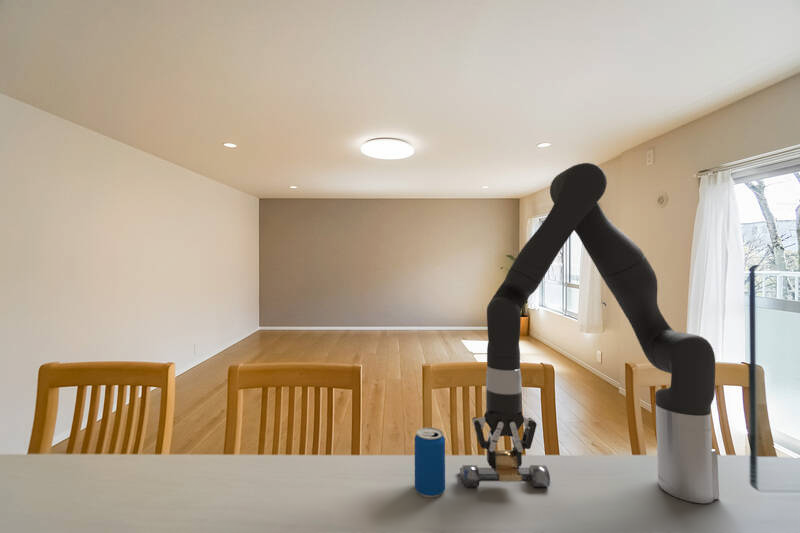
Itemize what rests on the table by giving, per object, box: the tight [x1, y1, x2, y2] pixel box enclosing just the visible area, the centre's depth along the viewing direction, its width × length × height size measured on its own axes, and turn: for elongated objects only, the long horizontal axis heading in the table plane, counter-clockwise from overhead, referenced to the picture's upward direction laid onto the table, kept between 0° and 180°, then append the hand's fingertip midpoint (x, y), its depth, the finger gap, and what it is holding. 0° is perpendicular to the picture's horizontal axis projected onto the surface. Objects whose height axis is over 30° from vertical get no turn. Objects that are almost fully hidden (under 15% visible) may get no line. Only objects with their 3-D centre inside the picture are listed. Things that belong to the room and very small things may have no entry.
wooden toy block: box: [494, 449, 522, 482], centre depth 76 cm, size 4×6×4 cm
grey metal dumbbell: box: [459, 464, 551, 488], centre depth 78 cm, size 18×7×4 cm, turn 90°
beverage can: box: [414, 427, 446, 499], centre depth 75 cm, size 6×6×12 cm
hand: (504, 466), depth 77 cm, fingers closed on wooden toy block, 4 cm apart
